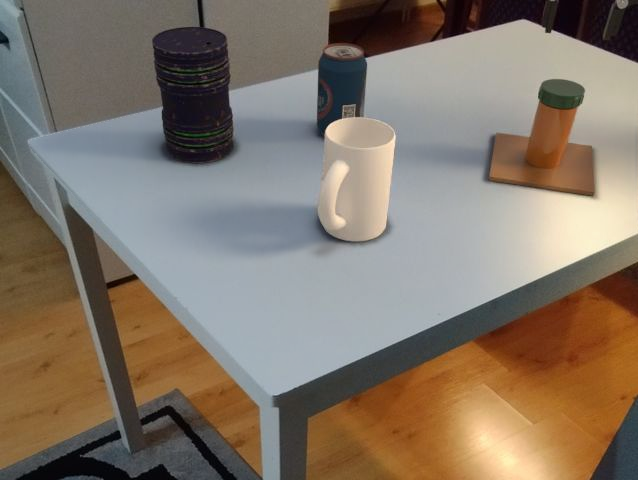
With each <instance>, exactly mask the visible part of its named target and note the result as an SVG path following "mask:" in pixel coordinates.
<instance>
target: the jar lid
mask: <svg viewBox="0 0 638 480" xmlns="http://www.w3.org/2000/svg"><path fill="white" fill-rule="evenodd" d="M585 93H586V89H585V87H584V86H583V85H582V84H580V83H578V82H575V81H573V80H568V79H563V78H562V79H561V78H550V79H546V80H543V81H542V82H541V84H540V86H539V90H538V94H537V95H538V96H537V99H538V101H539V100H540V101H541V102H542V103H544V104H546V105H548V106H551V107H555V108H561V109H571V108H576V107H578V108H579V107H580V106H581V105H582V104H583V102H584V98H585Z"/></svg>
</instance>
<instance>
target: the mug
mask: <svg viewBox="0 0 638 480" xmlns="http://www.w3.org/2000/svg"><path fill="white" fill-rule="evenodd" d="M395 146H396V133H395V130H394V129H393V127H391V126H390V125H389V124H387V123H385V122H383V121H381V120H378V119H375V118H371V117H363V118H361V117H353V118H344V119H340V120H337V121H335V122H333V123H331V124H330V125H329V126H328V127H327V129H326V130H325V136H324V144H323V158H322V160H321V164H322V165H323V169H322V170H321V175H320V180H322V183H321V185H320V189H319V192H318V197H317V215H318V218H319V221H320V223H321V225H322V227H323V228H324V230H325V232H327V234H329V235H331V236H332V237H334V238H336V239H339V240H343V241H347V242H365V241H370V240H374V239H375V238H377V237H379V236H380V235H382V234H383V232H384V231H385V230H386V227H387V222H388V221H387V220H388V212H389V210H388V209H389V203H390V202H389V201H390V193H391V185H392V184H391V183H392V175H393V166H394V158H395V157H394V156H395Z"/></svg>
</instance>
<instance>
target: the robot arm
mask: <svg viewBox="0 0 638 480" xmlns="http://www.w3.org/2000/svg"><path fill="white" fill-rule="evenodd" d="M634 5H638V0H614V3H613V2H612V4H611V6H610V10H609V13H608V17H607V20H606V23H605V27H604V30H603V33H602V39H603V41H610V40H611V38H612V36H613V37H616V35H617V34H618V33H619V30H620V27H621V23H622V20H623V18H624V15H625V11H626V9H627V8H629V7H630V6H634ZM558 6H559V0H545V5H544V7H543V8H544V9H543V12H542V17H541V28H544V33H545V34H552V30H553V26H554V23H555V18H556V15H557V10H558Z"/></svg>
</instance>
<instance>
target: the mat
mask: <svg viewBox="0 0 638 480" xmlns="http://www.w3.org/2000/svg"><path fill="white" fill-rule="evenodd" d="M494 137H495V138H494V145H493V150H492V154H491V155H492V156H491V162H490V168H489V174H488V178H487V179H488V181H490V182H491V181H492V182H499V183H505V184H511V185H512V184H513V185H518V186H523V187H531V188H536V189H537V188H538V189H545V190H550V191H557V192H563V193H564V192H565V193H571V194H577V195H583V196H591V197H594V196H595V194H596V188H595V173H594V172H595V171H594V156H593V145H588V144H581V143H573V142H568V144H567V147H566V151H565V154H564V158H563V161H562V164H561V165H560V166H559V167H556V168H540V167H536V166H533V165H531V164H530V163H528V162H527V161H526V160H525V154H526V150H527V146H528V142H529V138H530V136H525V135H524V136H523V135H517V134H509V133H508V134H507V133H502V132H496V133H495V136H494Z"/></svg>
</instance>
